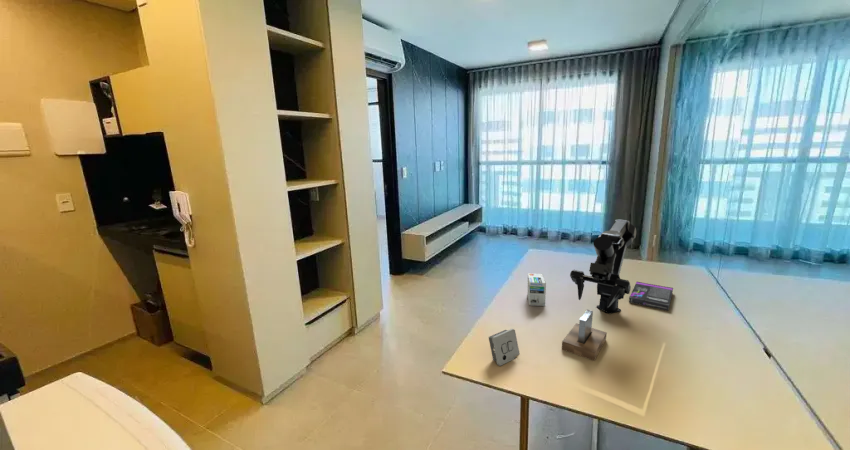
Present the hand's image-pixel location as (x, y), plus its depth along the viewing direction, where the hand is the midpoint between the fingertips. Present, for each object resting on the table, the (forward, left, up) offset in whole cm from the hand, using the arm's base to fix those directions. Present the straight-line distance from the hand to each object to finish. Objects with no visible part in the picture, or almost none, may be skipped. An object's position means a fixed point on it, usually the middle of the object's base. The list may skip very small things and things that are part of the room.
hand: (593, 303), depth 116 cm
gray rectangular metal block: (+6, +4, -12) cm, 14 cm away
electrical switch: (+34, -1, -13) cm, 37 cm away
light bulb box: (0, -31, -13) cm, 34 cm away
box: (-46, -14, -14) cm, 50 cm away
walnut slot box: (+6, +4, -13) cm, 15 cm away
